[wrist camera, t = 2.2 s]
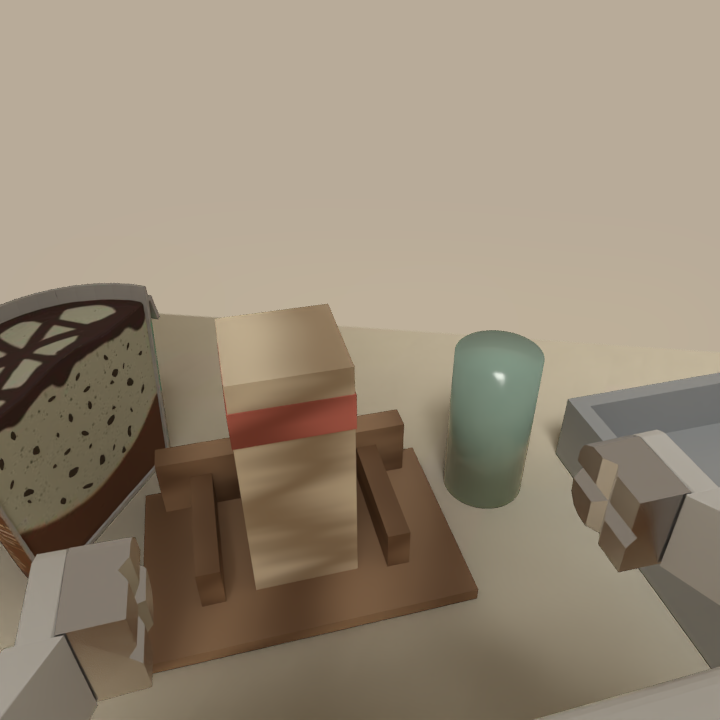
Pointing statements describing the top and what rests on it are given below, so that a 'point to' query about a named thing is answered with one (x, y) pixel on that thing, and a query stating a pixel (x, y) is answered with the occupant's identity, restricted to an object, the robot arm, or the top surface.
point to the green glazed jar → (491, 416)
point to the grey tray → (692, 435)
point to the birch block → (292, 440)
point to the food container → (75, 413)
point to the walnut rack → (301, 598)
